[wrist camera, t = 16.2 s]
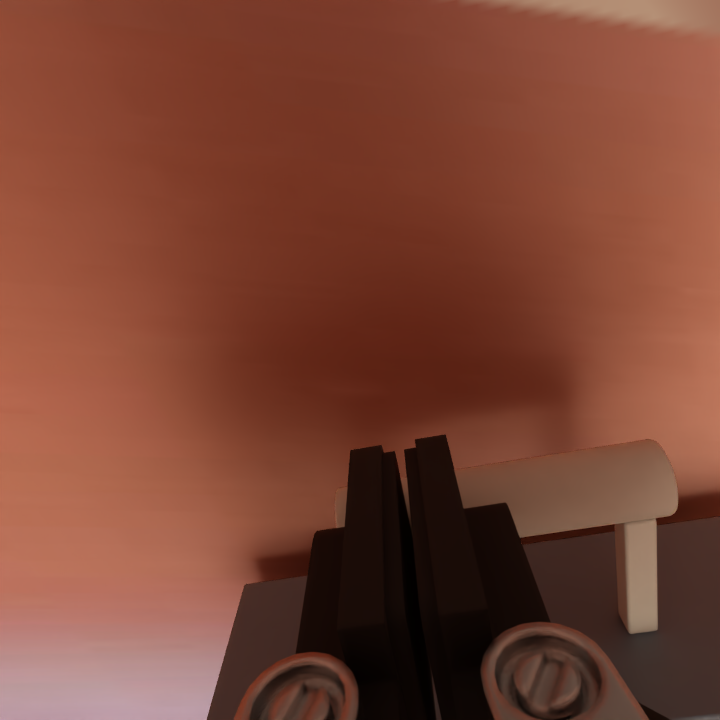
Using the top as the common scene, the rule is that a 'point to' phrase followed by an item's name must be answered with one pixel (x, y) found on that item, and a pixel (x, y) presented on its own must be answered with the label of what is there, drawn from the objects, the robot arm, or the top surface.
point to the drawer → (564, 575)
